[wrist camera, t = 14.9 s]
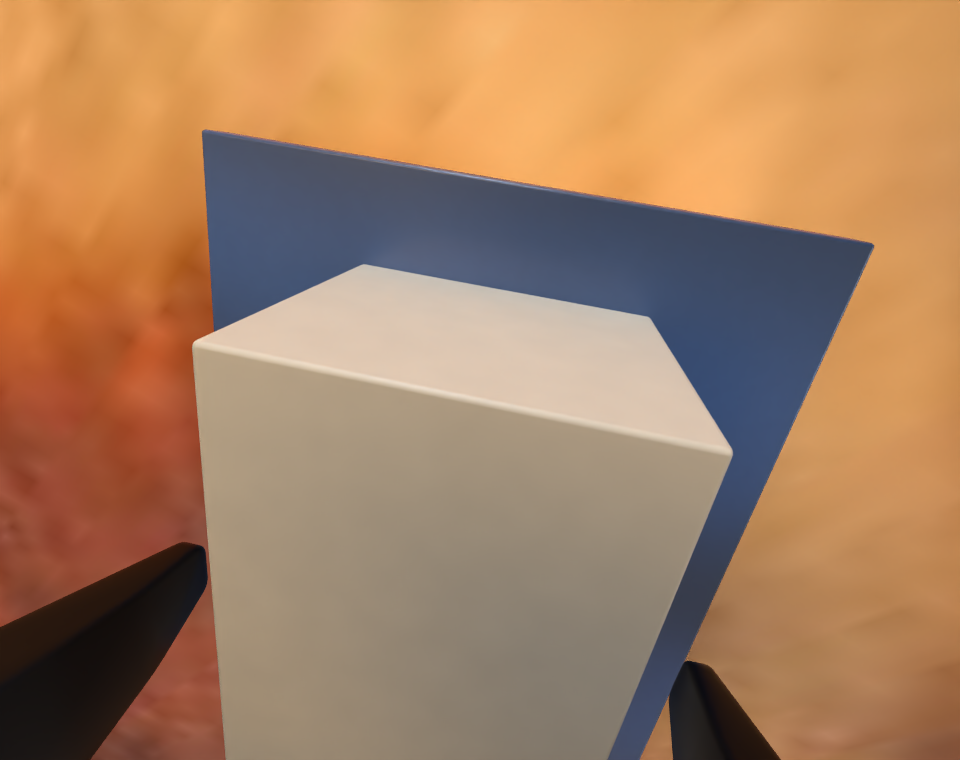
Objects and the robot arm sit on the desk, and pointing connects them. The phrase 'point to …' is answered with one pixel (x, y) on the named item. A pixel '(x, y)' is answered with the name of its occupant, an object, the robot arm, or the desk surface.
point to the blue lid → (561, 276)
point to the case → (443, 518)
